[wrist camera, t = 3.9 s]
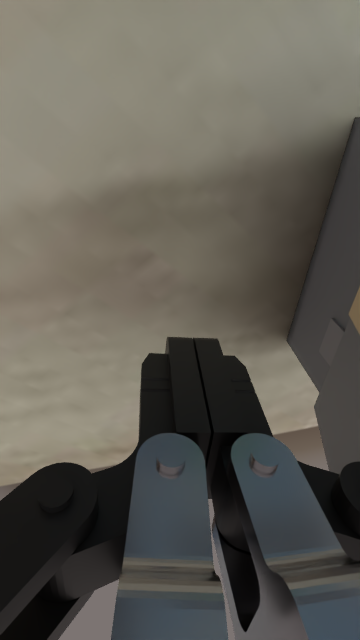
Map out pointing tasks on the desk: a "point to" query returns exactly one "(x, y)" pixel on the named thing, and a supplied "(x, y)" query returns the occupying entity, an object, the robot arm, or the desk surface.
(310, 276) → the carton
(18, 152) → the desk surface
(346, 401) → the lid
